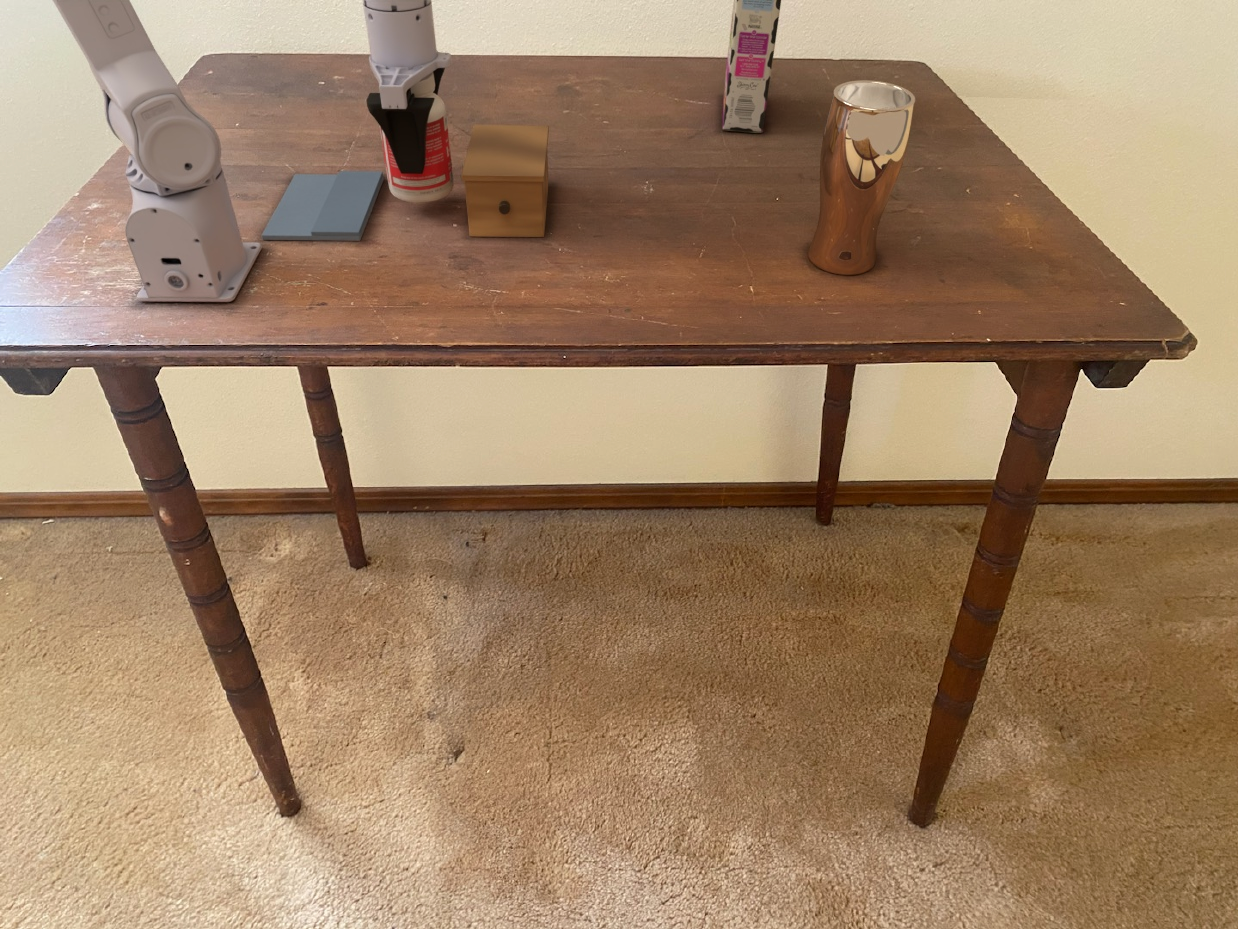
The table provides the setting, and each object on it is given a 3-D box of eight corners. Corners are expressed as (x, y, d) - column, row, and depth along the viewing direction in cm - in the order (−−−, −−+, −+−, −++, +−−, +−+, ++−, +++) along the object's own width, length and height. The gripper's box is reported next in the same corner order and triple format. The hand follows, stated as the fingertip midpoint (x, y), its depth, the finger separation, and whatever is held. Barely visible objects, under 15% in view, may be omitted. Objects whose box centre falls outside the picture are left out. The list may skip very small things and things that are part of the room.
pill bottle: (465, 195, 90) (453, 78, 82) (405, 210, 87) (388, 91, 80) (437, 171, 93) (423, 57, 86) (379, 185, 91) (360, 68, 83)
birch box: (545, 241, 87) (543, 178, 83) (466, 240, 87) (460, 177, 83) (550, 184, 96) (548, 125, 92) (478, 183, 96) (473, 124, 92)
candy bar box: (765, 134, 107) (785, -22, 96) (721, 132, 107) (737, -25, 96) (763, 98, 115) (782, -50, 104) (722, 96, 115) (737, -52, 104)
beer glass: (788, 258, 86) (814, 93, 76) (830, 232, 89) (860, 72, 79) (853, 286, 82) (890, 117, 72) (893, 258, 86) (933, 94, 76)
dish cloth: (360, 240, 86) (358, 232, 86) (262, 240, 86) (260, 231, 86) (383, 179, 96) (382, 170, 95) (295, 178, 96) (294, 169, 95)
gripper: (433, 29, 73) (451, 191, 83) (454, -22, 84) (467, 126, 93) (343, 28, 73) (371, 190, 82) (375, -23, 84) (396, 125, 93)
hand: (417, 156), depth 88 cm, fingers closed on pill bottle, 6 cm apart
